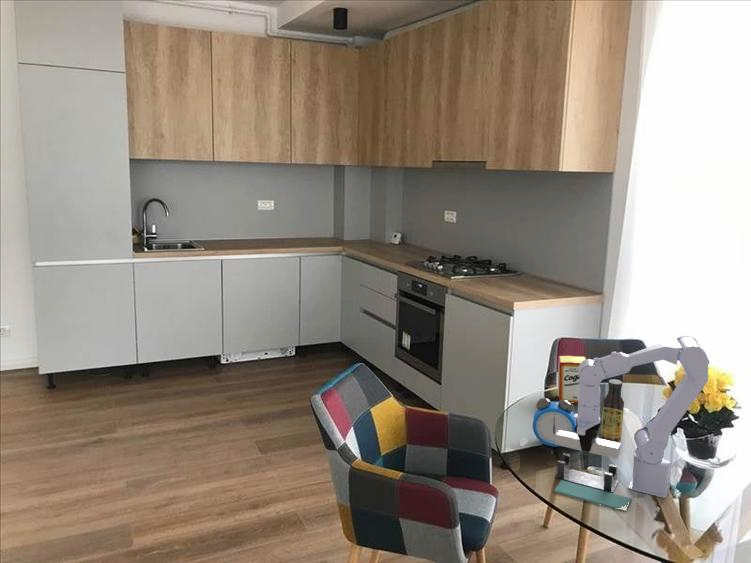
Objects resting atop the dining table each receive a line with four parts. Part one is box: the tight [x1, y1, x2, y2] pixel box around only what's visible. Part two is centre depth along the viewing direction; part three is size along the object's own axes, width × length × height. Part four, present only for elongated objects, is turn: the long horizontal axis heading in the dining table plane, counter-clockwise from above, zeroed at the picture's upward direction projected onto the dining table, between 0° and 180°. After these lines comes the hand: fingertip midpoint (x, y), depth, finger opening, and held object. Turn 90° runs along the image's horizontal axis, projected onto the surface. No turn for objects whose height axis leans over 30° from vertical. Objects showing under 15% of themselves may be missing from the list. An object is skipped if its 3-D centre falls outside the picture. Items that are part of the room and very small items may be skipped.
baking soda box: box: [557, 355, 587, 404], centre depth 229 cm, size 10×6×16 cm
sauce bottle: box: [600, 378, 625, 443], centre depth 198 cm, size 6×6×20 cm
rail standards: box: [554, 452, 619, 494], centre depth 177 cm, size 16×6×5 cm, turn 56°
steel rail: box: [555, 430, 622, 460], centre depth 175 cm, size 17×3×3 cm, turn 56°
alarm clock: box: [532, 397, 577, 448], centre depth 198 cm, size 13×6×15 cm, turn 72°
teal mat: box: [553, 480, 632, 509], centre depth 170 cm, size 19×6×1 cm, turn 56°
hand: (587, 447), depth 175 cm, fingers closed on steel rail, 3 cm apart
